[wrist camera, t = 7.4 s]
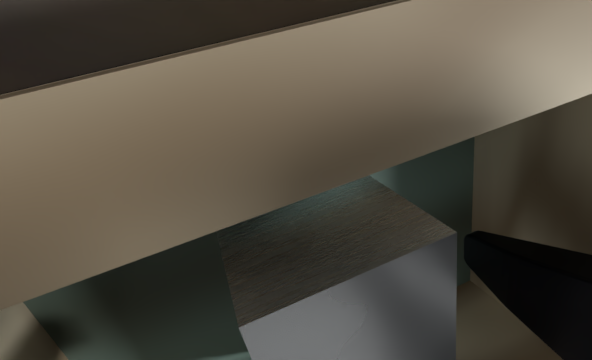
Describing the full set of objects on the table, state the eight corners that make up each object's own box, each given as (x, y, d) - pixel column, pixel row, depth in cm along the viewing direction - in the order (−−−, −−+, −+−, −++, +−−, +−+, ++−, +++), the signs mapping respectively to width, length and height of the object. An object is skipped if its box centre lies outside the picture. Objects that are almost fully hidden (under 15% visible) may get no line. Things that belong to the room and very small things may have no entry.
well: (513, 287, 16) (626, 365, 12) (74, 509, 12) (22, 749, 8) (549, -37, 10) (792, -92, 6) (-311, 168, 6) (-1403, 436, 2)
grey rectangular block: (364, 302, 12) (455, 422, 8) (264, 348, 11) (312, 507, 7) (341, 157, 10) (456, 232, 6) (209, 202, 9) (238, 328, 5)
